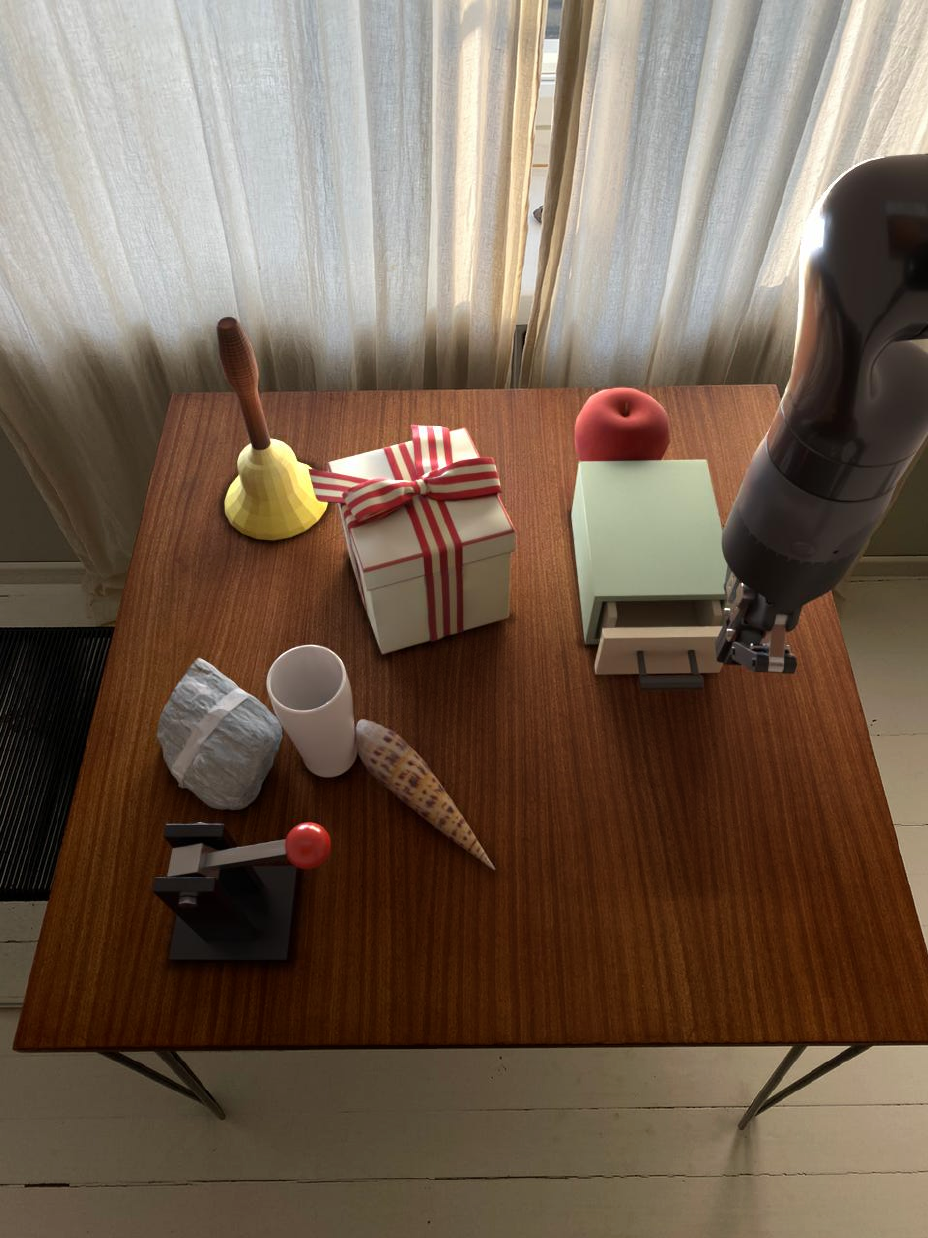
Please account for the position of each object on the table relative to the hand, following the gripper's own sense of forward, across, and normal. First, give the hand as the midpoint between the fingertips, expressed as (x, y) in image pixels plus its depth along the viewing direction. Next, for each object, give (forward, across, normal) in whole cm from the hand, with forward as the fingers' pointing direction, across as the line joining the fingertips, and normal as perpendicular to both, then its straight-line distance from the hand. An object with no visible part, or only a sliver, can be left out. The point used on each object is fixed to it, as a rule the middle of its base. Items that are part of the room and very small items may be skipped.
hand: (729, 654), depth 64 cm
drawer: (+22, +16, +1) cm, 28 cm away
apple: (+24, +38, +4) cm, 45 cm away
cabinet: (+24, +23, +2) cm, 33 cm away
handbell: (+24, +32, +44) cm, 59 cm away
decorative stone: (+23, 0, +43) cm, 49 cm away
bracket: (+22, -16, +39) cm, 47 cm away
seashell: (+23, -5, +23) cm, 33 cm away
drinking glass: (+23, 0, +33) cm, 40 cm away
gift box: (+24, +21, +26) cm, 41 cm away
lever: (+8, -15, +33) cm, 38 cm away
